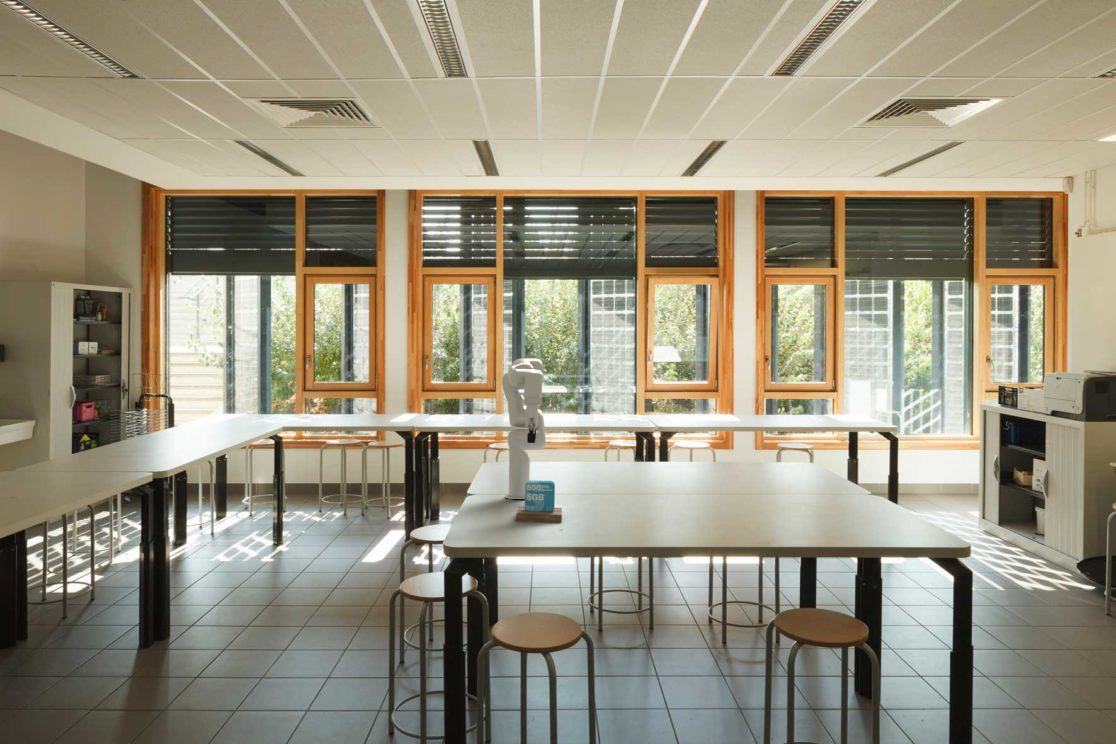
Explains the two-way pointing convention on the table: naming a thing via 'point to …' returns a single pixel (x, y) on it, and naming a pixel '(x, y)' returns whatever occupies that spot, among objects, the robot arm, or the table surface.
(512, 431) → the robot arm
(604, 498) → the table surface
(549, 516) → the base plate
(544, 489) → the data package
